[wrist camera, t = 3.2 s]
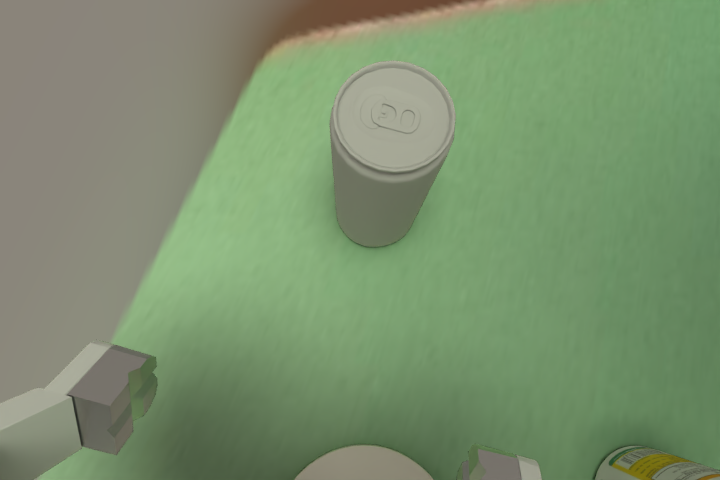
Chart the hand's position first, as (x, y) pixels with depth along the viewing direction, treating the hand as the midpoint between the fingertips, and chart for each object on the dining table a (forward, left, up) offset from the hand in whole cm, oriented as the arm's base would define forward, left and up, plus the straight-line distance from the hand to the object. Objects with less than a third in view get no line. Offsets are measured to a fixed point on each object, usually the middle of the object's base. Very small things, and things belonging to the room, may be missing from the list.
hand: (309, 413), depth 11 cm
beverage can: (0, -10, -15) cm, 18 cm away
